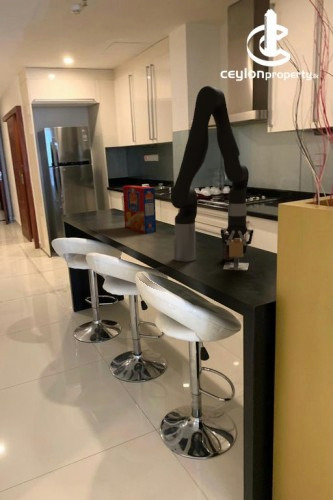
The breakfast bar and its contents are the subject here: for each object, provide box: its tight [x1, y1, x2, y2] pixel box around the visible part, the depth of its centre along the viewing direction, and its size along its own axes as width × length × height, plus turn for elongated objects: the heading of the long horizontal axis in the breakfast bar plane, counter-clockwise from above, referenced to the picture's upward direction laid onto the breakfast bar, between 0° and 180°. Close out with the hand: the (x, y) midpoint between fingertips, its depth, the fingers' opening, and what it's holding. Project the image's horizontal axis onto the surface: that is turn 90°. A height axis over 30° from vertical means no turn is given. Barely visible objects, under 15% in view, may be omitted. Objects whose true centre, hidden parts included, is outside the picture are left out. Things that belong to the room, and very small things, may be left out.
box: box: [222, 232, 235, 261], centre depth 178 cm, size 6×4×12 cm
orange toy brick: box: [229, 238, 245, 258], centre depth 164 cm, size 6×6×7 cm
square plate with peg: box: [222, 257, 250, 272], centre depth 165 cm, size 10×10×4 cm
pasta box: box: [122, 184, 157, 235], centre depth 250 cm, size 28×8×28 cm, turn 32°
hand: (236, 253), depth 164 cm, fingers closed on orange toy brick, 5 cm apart
